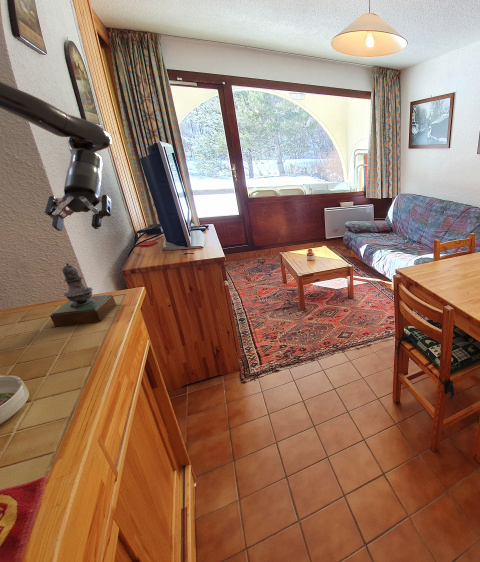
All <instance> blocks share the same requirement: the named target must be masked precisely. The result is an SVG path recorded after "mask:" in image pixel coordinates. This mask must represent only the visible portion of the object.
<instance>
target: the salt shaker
mask: <svg viewBox="0 0 480 562" xmlns="http://www.w3.org/2000/svg"><path fill="white" fill-rule="evenodd" d="M61 271H62V273H63V276H64V278H65V279H64V280H63V281H64V282H65V283H66V284H67V287H68V290H67V291H66V292H64V293H63V296H64V297H66V299H68V301H69V300H70V301H73V303H72V304H71V305H70V306H71V307H72V308H78V307H84V306H88V305H90V304H92V303H94V302H95V301H96V300H95V299H92V298H90V297H92V296H93V289H94V288H92V287H90V286H86V285H85V284H84V281H83V276H81V274H80V273H79V270H78V268H77V266H75V265H74V264H73V265H72V264H70V263H69V262H66V263H65V266H63V267H62V268H61Z"/></svg>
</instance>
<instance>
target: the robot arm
mask: <svg viewBox="0 0 480 562" xmlns="http://www.w3.org/2000/svg"><path fill="white" fill-rule="evenodd" d="M0 109H1V110H3V111H6V112H7V113H10V114H12V115H14V116H16V117H18V118H20V119H21V120H24V121H26V122H28V123H30V124H32V125H35V126H37V127H38V128H41V129H43V130H44V131H46V132H49V133H50V134H52V135H55V136H57V137H61V138H67V145H68V149H69V152H70V161H69V164H68V167H67V171H66V176H65V181H64V186H63V193H64V195H63V196H62V197H55V196H54V195H49V197H48V199H47V203H46V205H45V209H44V214H45V215H47V216H48V217H50V218H51V219H52V222H51V226H52V228H54V229H55V230H56V231H58V232H62V231H63V228H64V219H66V218H67V217H68V216H72V214H75V213H89V212H90V211H91V212H92V213H93V214H92V216H91V217H92V218H91V227H92V228H93V229H94V230H100V228H101V227H102V222H103V219H104V217H111V216H112V200H111V198H109V196H108V195H107V194H102V196H100V193H101V185H102V171H103V158H102V157H101V155H100V154H99V153H98V152H99V151H103V150H105V149H107V148H109V147H111V145H112V138H111V136H110V134H109V133H108V132H107V131H106V129H104V128H103V127H102V126H100V125H98V124H97V123H94V122H92V121H89V120H86V119H84V118H81V117H78V116H75V115H72V114H69V113H67V112H65V111H63V110H62V109H60V108H58V107H56V106H54V105H52V104H51V103H49V102H47V101H45V100H43V99H41V98H39V97H37V96H35V95H33V94H31V93H28V92H25V91H24V90H21V89H18V88H16V87H14V86H11V85H9V84H7V83H5V82H3V81H0ZM99 204H101V210H99V209H97V208H96V206H98V205H99Z"/></svg>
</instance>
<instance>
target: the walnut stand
mask: <svg viewBox="0 0 480 562" xmlns="http://www.w3.org/2000/svg"><path fill="white" fill-rule="evenodd" d="M90 298H92V299H95V300H96V301H95V302H94V303H92V304H90V305H88V306H84V307H78V308H72V307H71V306H70V305H71V304H72V303H73V301H70V300H69V299H68V301H67V302H66V303H64V304H63V305H61V306H60V307H59V308H57V309H56V310H55V311H53V312H52V313H51V314H50V315H49V317H50V319H51V321H52V323H53V326H54V327H65V326H72V325H79V324H90V323H99V322H101V321H102V320H103V319H104V318H105V317H107V315H108V314H109V313H110V312H111V311H112V310H113V309H114V308H115V307H116V306H117V303H116V300H115V297H114V295H113V294H104V295H103V294H101V295H92V296H91V297H90Z"/></svg>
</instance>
